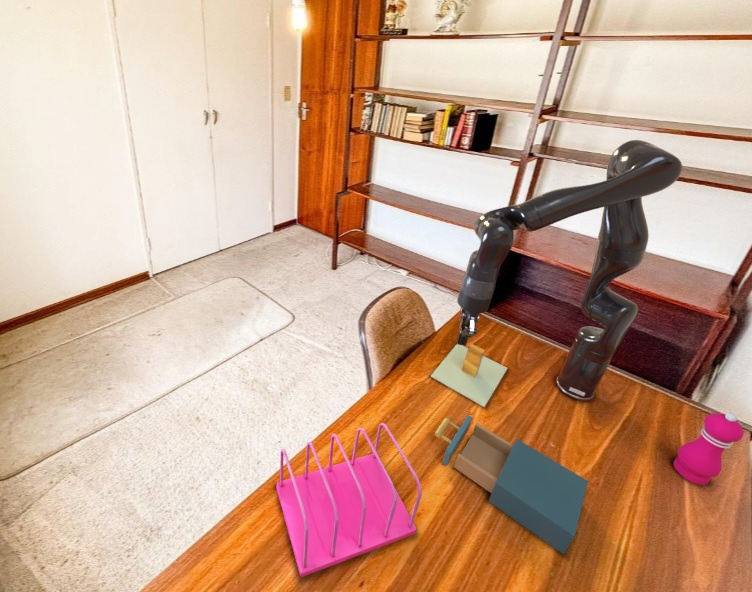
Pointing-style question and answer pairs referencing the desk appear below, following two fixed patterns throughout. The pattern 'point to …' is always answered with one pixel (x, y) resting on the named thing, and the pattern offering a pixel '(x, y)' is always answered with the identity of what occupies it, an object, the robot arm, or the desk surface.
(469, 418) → the drawer
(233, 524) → the desk surface
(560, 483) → the cabinet
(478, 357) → the block
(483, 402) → the mat
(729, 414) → the pepper mill
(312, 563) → the file sorter
